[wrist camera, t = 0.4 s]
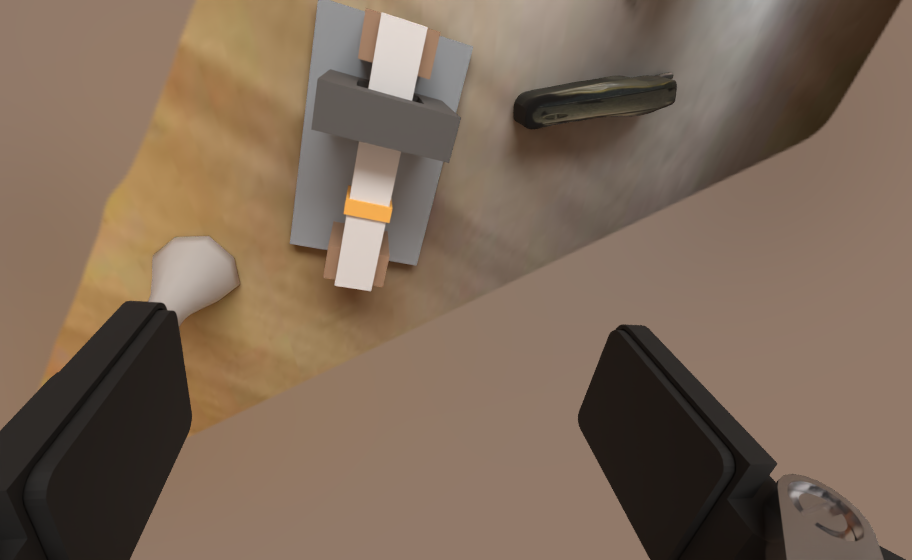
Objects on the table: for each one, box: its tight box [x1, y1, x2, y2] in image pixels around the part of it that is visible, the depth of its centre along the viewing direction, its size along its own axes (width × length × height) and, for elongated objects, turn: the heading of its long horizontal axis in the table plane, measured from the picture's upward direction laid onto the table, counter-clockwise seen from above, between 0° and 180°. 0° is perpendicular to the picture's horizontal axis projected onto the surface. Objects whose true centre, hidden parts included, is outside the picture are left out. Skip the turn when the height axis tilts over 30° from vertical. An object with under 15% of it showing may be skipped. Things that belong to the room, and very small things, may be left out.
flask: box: [148, 236, 240, 331], centre depth 37 cm, size 7×7×10 cm
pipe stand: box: [290, 0, 473, 291], centre depth 36 cm, size 20×12×8 cm, turn 165°
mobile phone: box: [514, 72, 677, 129], centre depth 38 cm, size 5×3×15 cm
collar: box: [311, 69, 461, 163], centre depth 32 cm, size 3×9×9 cm, turn 75°
